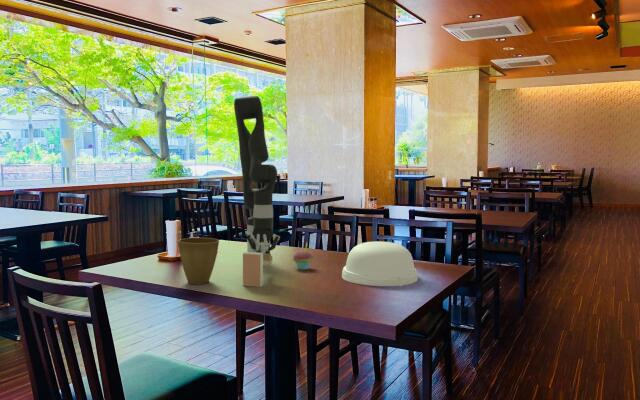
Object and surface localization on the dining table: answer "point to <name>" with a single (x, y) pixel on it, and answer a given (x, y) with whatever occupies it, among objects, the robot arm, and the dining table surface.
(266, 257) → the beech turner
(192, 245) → the plant pot
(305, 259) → the cupcake
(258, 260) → the pink white upright block
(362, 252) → the dome cover
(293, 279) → the dining table surface
